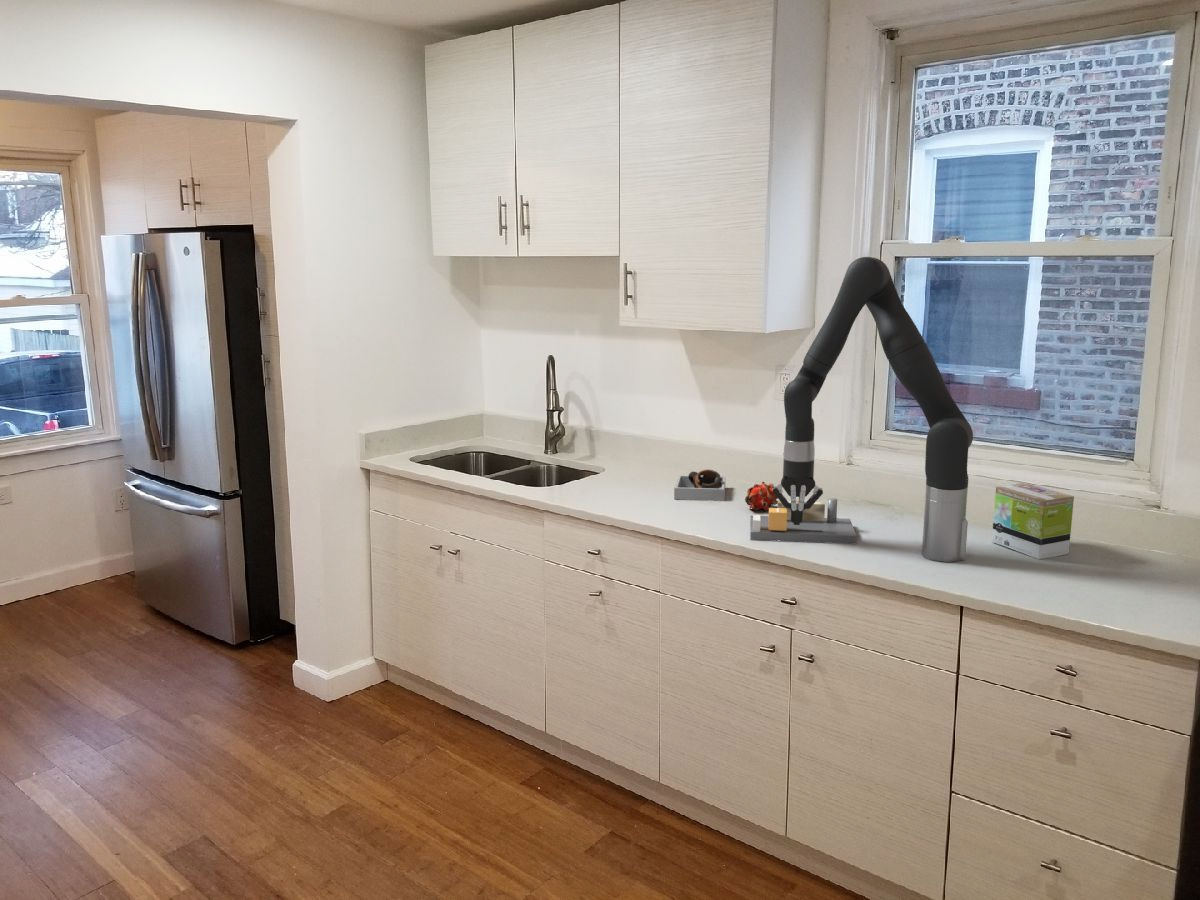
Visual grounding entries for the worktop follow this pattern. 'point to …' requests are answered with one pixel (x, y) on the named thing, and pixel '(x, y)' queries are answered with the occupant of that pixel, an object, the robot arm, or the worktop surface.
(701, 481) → the pottery mug
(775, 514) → the fader knob
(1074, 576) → the worktop surface
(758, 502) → the dragon fruit
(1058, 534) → the tea box
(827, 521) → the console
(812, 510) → the gate arm
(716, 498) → the tray
